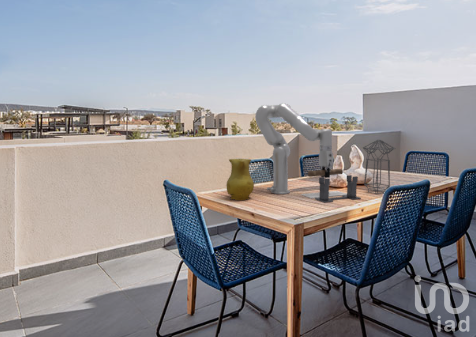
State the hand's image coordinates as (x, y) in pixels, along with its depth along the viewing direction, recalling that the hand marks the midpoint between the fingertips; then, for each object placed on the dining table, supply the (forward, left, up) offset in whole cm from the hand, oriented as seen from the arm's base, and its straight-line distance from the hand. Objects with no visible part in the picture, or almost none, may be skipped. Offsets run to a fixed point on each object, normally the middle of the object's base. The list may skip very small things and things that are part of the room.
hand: (325, 176), depth 229 cm
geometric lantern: (+36, -7, -12) cm, 38 cm away
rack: (0, -14, -12) cm, 18 cm away
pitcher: (-53, +13, -12) cm, 56 cm away
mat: (0, 0, -12) cm, 12 cm away
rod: (0, 0, +1) cm, 1 cm away
